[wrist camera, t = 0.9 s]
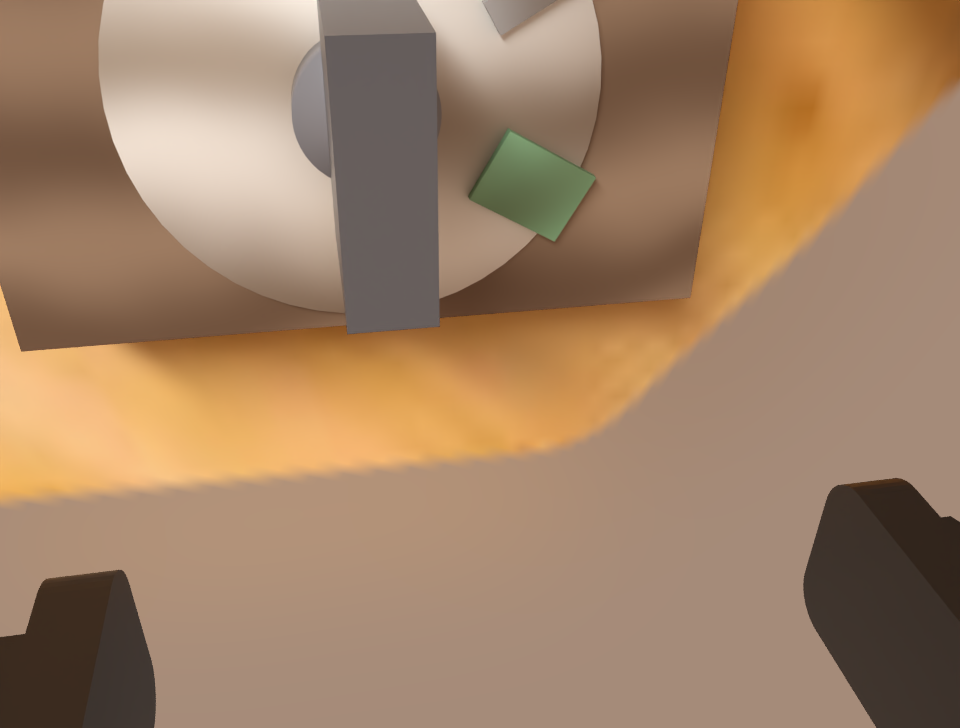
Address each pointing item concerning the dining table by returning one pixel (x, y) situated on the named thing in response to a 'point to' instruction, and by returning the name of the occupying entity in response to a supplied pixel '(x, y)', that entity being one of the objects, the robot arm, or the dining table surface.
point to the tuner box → (308, 192)
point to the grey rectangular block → (377, 155)
